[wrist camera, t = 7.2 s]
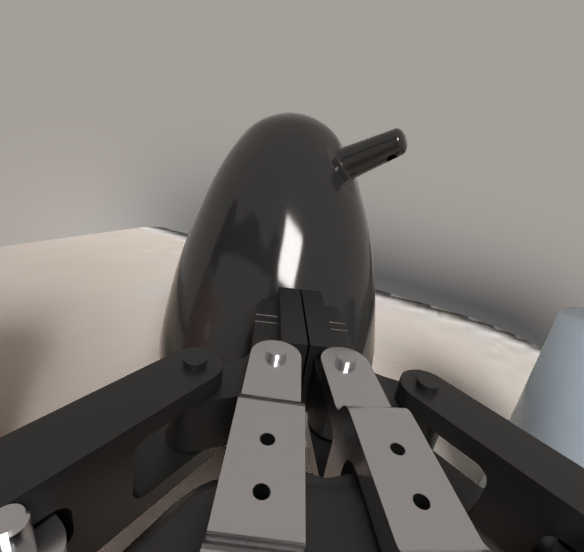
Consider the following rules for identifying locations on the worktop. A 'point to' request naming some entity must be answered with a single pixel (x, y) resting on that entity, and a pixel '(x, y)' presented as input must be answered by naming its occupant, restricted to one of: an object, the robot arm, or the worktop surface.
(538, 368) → the slate-blue canister
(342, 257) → the pump dispenser
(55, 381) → the worktop surface
